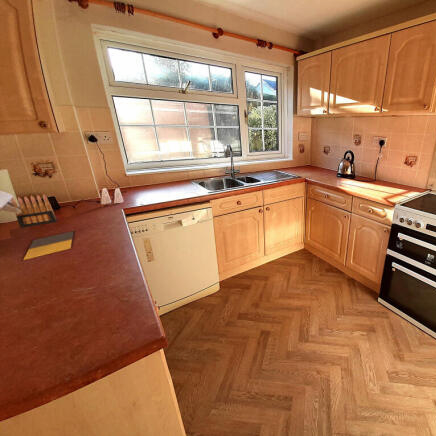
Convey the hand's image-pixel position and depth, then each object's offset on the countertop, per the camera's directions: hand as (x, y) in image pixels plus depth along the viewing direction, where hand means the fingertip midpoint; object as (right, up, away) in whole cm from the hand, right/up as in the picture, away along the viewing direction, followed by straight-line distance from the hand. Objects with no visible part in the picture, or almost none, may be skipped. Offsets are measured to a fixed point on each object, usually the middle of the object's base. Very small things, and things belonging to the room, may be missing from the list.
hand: (21, 211), depth 95 cm
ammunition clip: (+3, -5, +4) cm, 7 cm away
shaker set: (-12, +7, +65) cm, 66 cm away
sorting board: (+1, -15, +11) cm, 18 cm away
